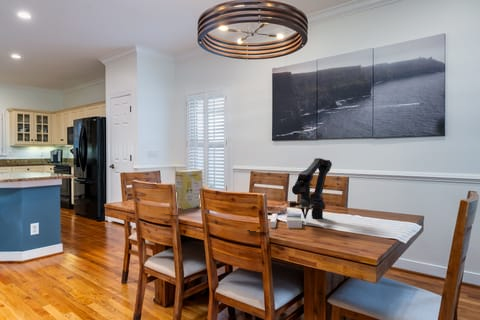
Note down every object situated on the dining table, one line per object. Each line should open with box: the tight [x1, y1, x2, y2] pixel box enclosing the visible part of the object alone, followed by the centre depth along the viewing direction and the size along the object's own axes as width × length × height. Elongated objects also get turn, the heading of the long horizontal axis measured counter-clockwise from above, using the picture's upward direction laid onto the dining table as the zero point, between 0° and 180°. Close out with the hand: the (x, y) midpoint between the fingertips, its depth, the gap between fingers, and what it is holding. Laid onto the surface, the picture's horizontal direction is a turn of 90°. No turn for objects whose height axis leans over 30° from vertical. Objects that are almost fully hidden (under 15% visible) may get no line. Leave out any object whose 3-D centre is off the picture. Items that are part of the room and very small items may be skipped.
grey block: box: [286, 216, 303, 229], centre depth 182 cm, size 8×8×4 cm
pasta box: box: [174, 169, 203, 210], centre depth 243 cm, size 18×10×28 cm, turn 138°
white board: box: [269, 213, 278, 228], centre depth 189 cm, size 3×22×4 cm, turn 170°
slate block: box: [286, 212, 302, 219], centre depth 194 cm, size 8×8×4 cm
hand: (305, 218), depth 193 cm, fingers closed
